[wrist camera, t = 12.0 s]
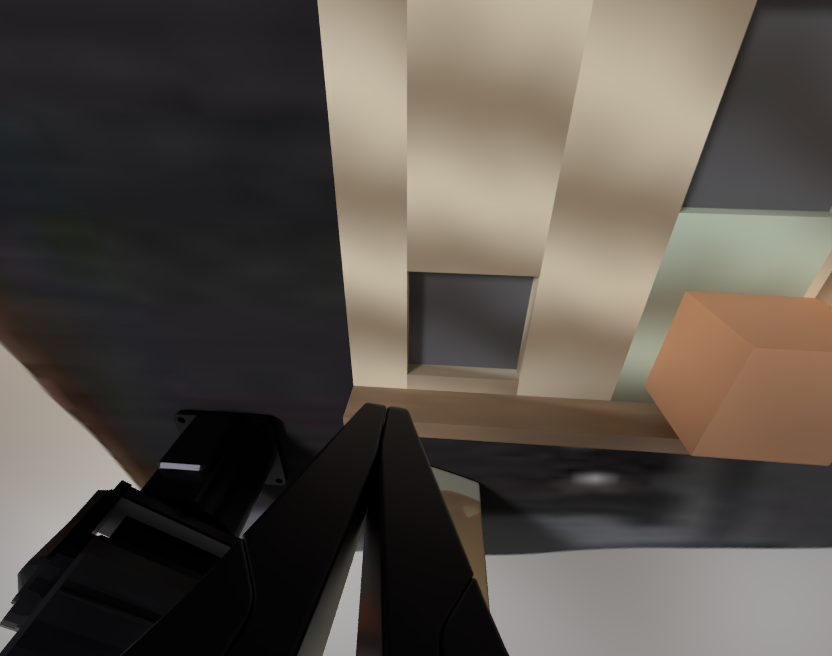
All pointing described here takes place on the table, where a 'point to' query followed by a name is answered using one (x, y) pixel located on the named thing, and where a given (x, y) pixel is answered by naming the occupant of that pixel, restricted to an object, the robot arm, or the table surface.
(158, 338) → the table surface
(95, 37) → the table surface
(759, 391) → the rust block
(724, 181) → the tray
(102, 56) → the table surface
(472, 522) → the skincare box
